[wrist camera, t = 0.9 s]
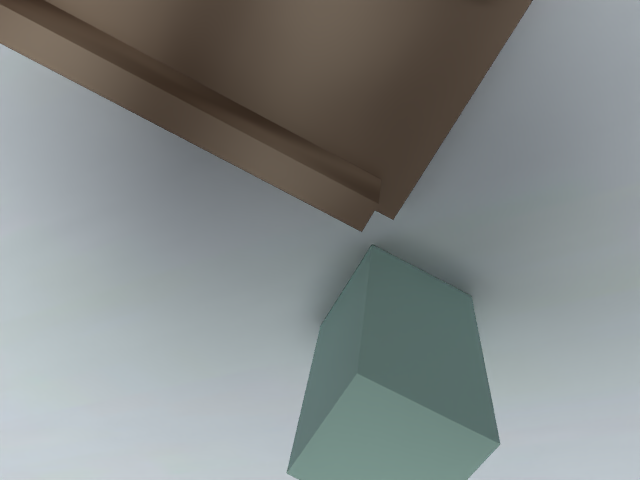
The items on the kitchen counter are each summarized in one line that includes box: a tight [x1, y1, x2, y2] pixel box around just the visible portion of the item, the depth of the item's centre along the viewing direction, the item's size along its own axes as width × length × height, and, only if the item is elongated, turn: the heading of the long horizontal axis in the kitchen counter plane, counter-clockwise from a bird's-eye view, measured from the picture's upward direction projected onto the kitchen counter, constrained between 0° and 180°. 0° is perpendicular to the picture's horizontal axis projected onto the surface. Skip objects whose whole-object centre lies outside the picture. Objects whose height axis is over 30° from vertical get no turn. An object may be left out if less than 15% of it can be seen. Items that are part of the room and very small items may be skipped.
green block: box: [287, 245, 500, 480], centre depth 18 cm, size 4×4×7 cm
